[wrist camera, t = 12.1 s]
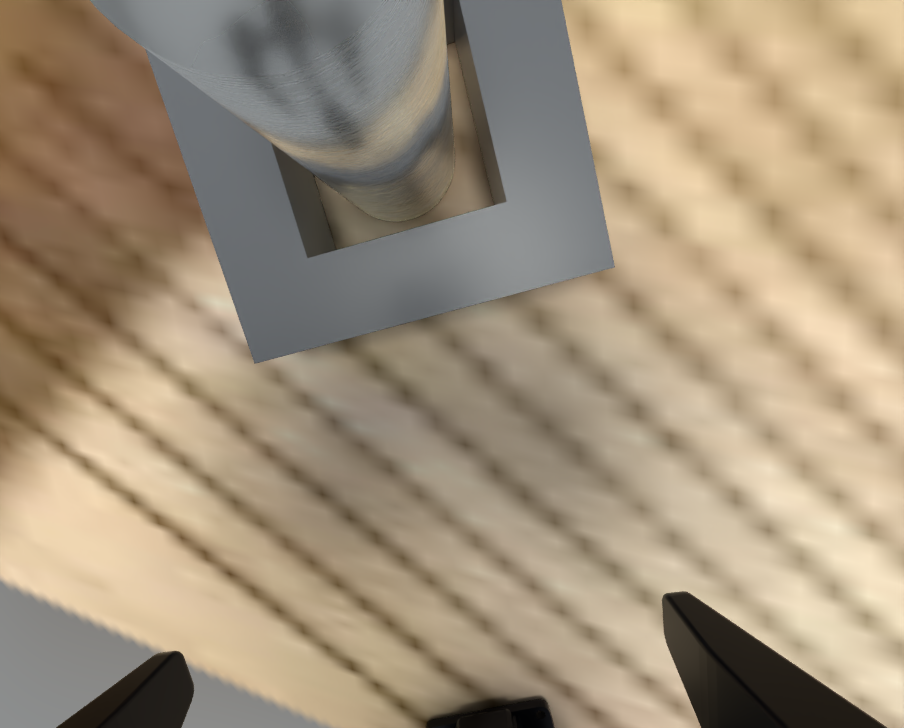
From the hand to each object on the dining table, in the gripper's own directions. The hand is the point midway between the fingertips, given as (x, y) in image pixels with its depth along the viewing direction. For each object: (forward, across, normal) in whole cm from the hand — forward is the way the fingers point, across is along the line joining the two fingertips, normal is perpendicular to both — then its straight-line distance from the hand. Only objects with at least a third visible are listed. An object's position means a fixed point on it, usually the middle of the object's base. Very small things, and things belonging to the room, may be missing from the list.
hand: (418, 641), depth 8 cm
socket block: (+13, 0, -11) cm, 17 cm away
